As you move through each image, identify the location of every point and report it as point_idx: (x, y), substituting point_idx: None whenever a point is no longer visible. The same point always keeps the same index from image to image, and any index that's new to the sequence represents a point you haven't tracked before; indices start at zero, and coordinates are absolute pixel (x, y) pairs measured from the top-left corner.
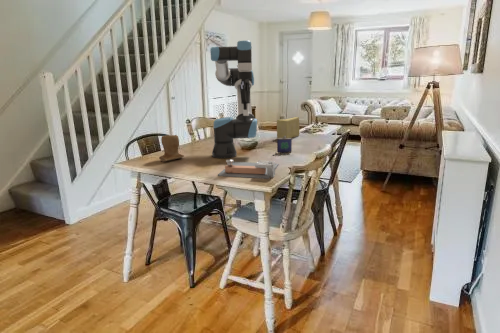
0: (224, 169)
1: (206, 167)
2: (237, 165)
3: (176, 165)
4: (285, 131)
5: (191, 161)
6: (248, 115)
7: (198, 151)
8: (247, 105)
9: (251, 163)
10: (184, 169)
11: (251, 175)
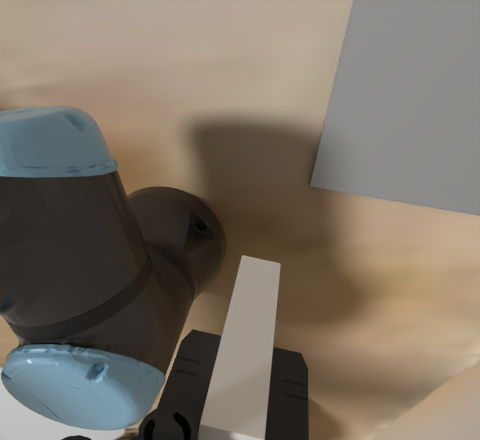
0: (467, 210)
1: (385, 283)
2: (395, 157)
3: (339, 373)
4: None
5: (280, 340)
6: (256, 258)
7: None
8: (267, 404)
9: (359, 82)
10: (404, 347)
11: None
